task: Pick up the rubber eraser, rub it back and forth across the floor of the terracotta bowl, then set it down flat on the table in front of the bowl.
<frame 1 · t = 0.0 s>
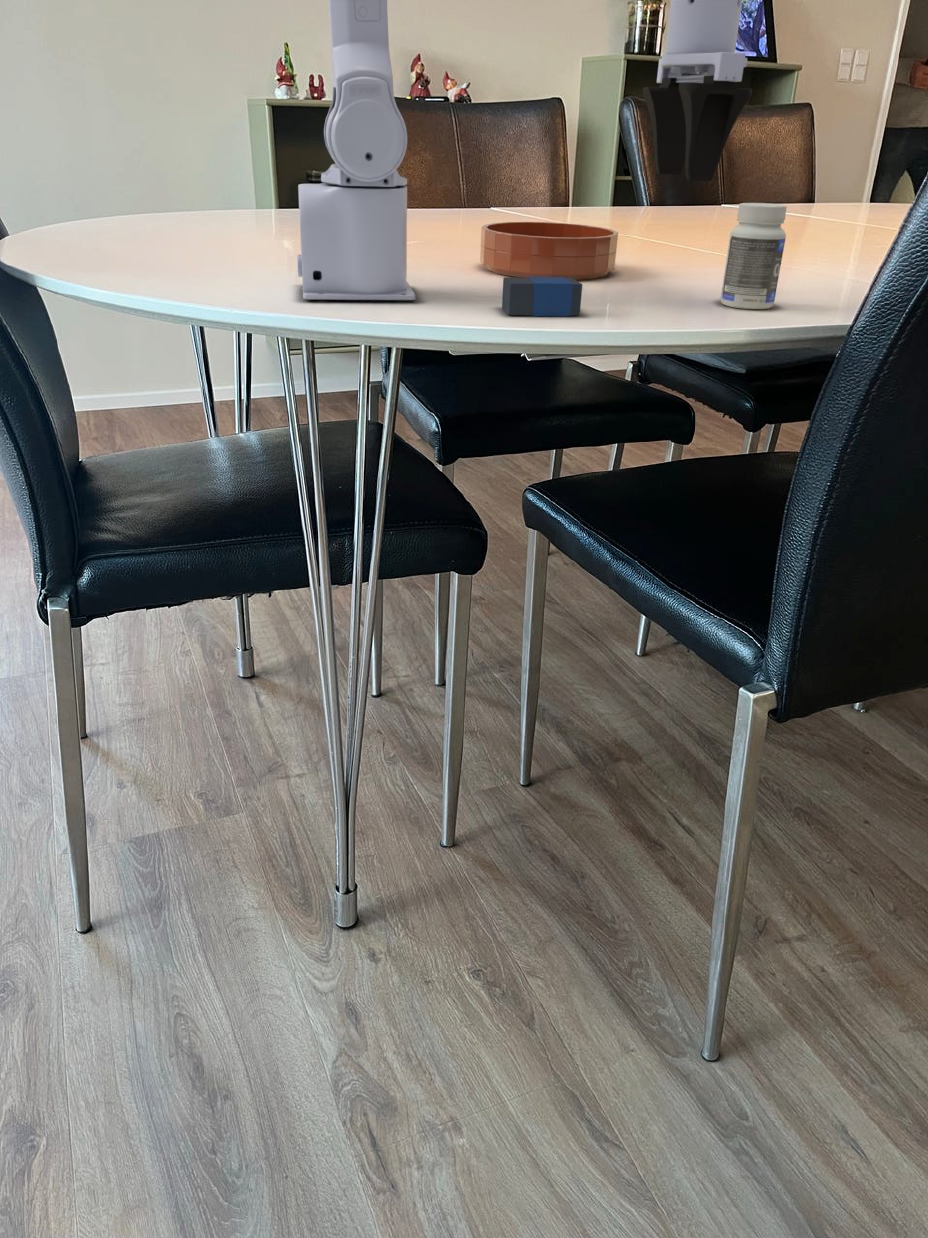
hand: (683, 177, 84), 10 cm above the table, tool pointing down, fingers open, 7 cm apart
bowl: (547, 270, 101), on the table
pill bottle: (745, 307, 87), on the table
eraser: (540, 311, 80), on the table
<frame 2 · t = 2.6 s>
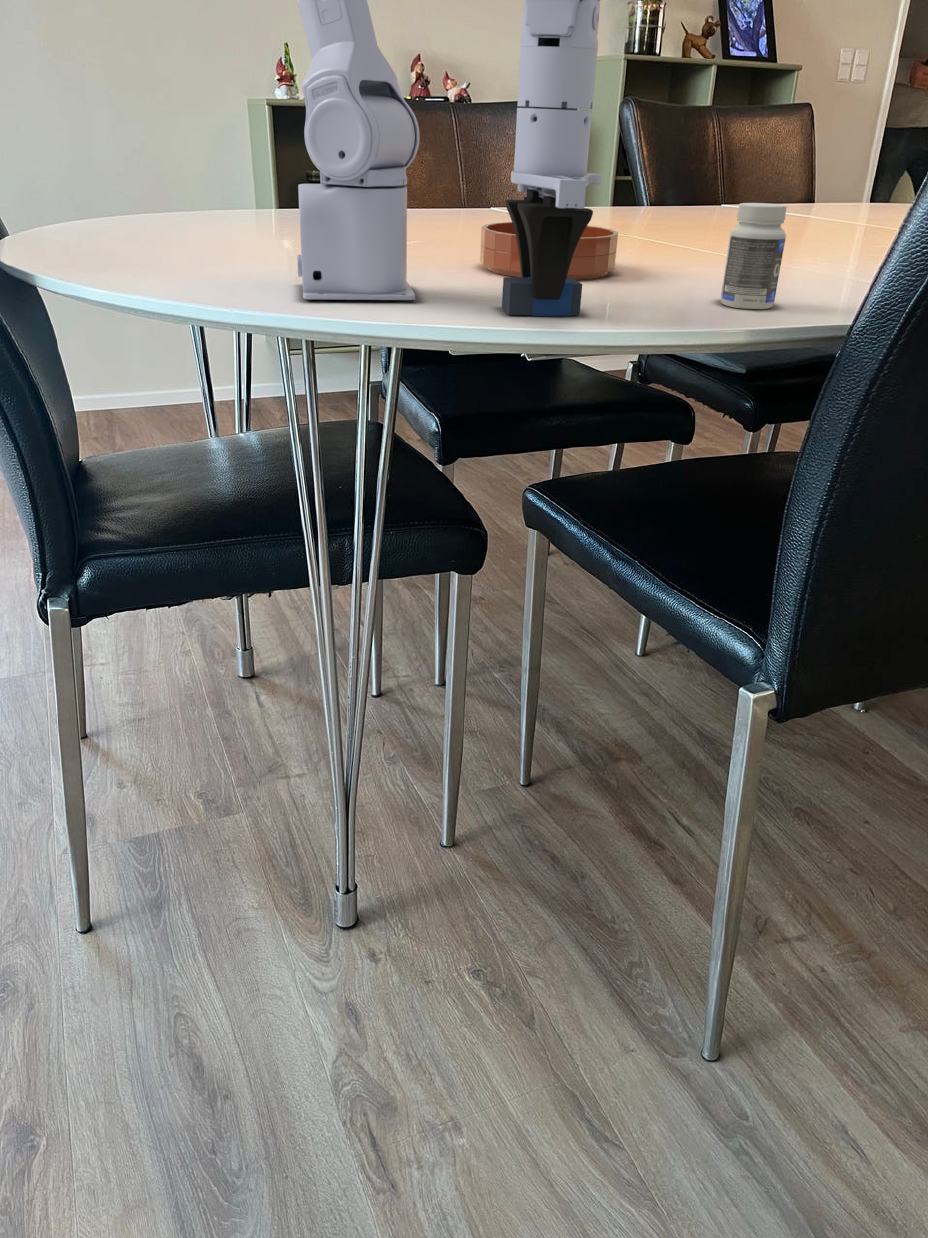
hand: (541, 294, 79), 1 cm above the table, tool pointing down, fingers closed on eraser, 3 cm apart
eraser: (540, 311, 80), on the table, touching gripper
everything else where it was.
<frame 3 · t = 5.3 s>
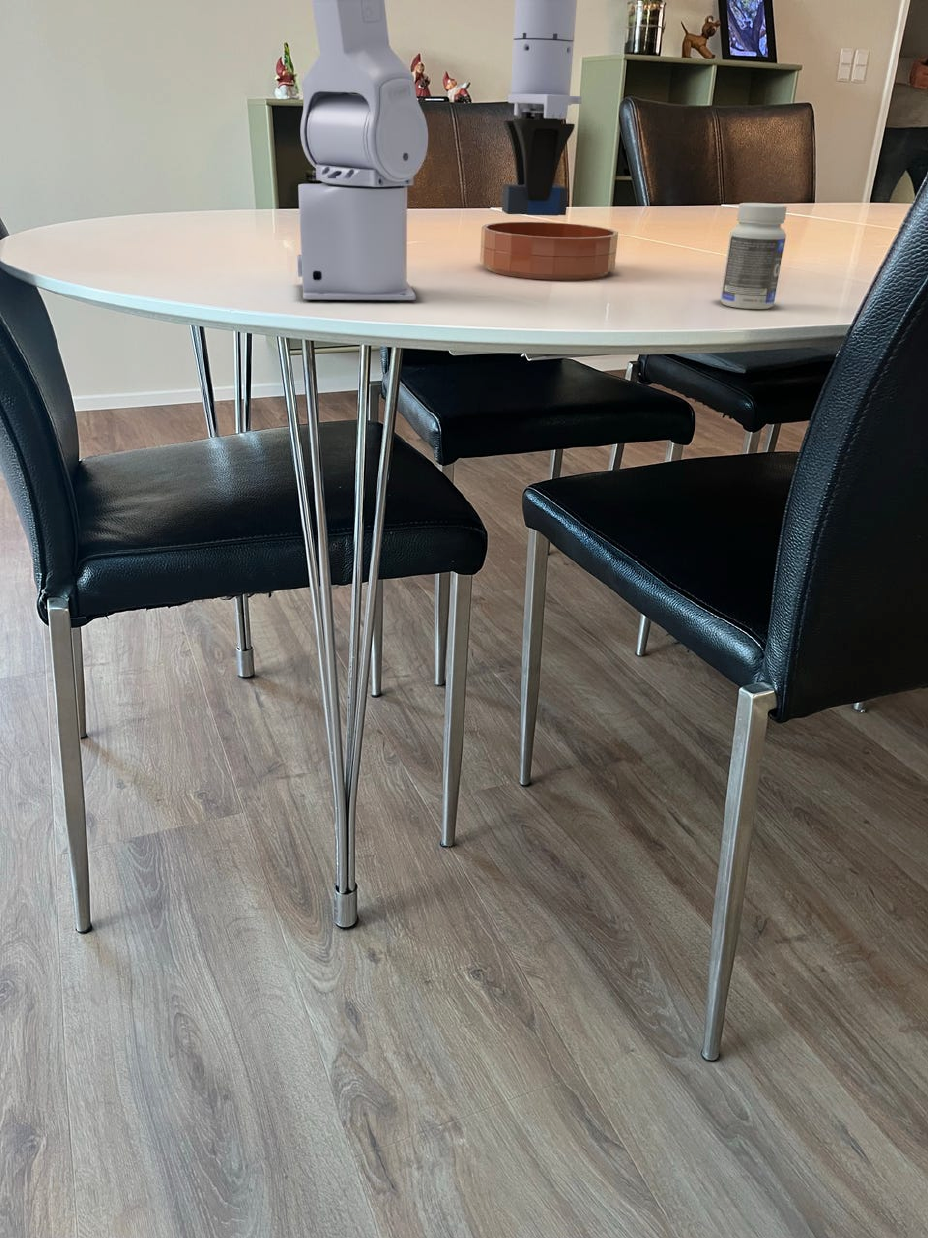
hand: (533, 198, 97), 7 cm above the table, tool pointing down, fingers closed on eraser, 3 cm apart
eraser: (533, 212, 97), point 6 cm above the table, touching gripper
everything else where it was.
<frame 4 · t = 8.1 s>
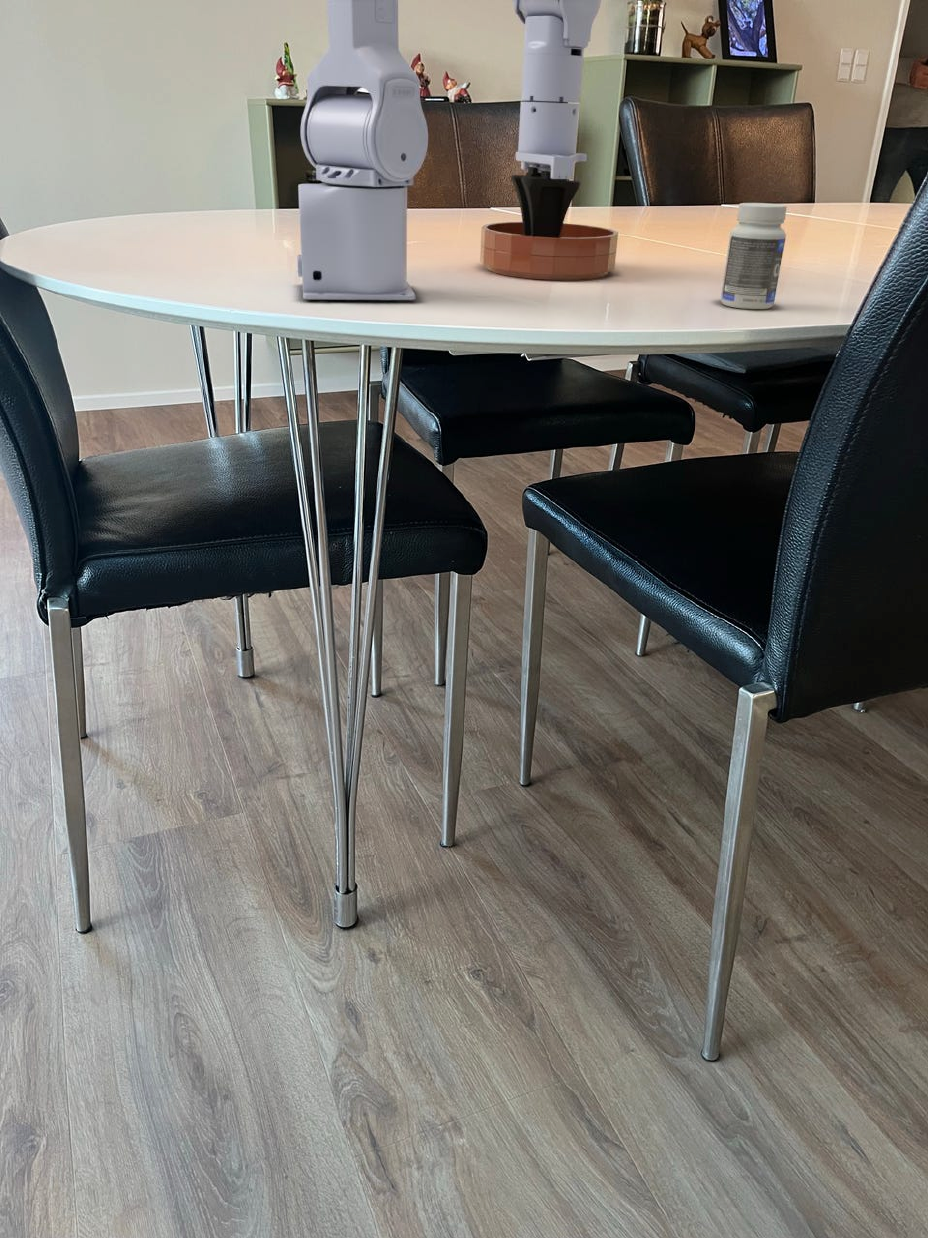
hand: (540, 250, 100), 2 cm above the table, tool pointing down, fingers closed on eraser, 3 cm apart
eraser: (539, 263, 100), point 1 cm above the table, touching gripper
everything else where it was.
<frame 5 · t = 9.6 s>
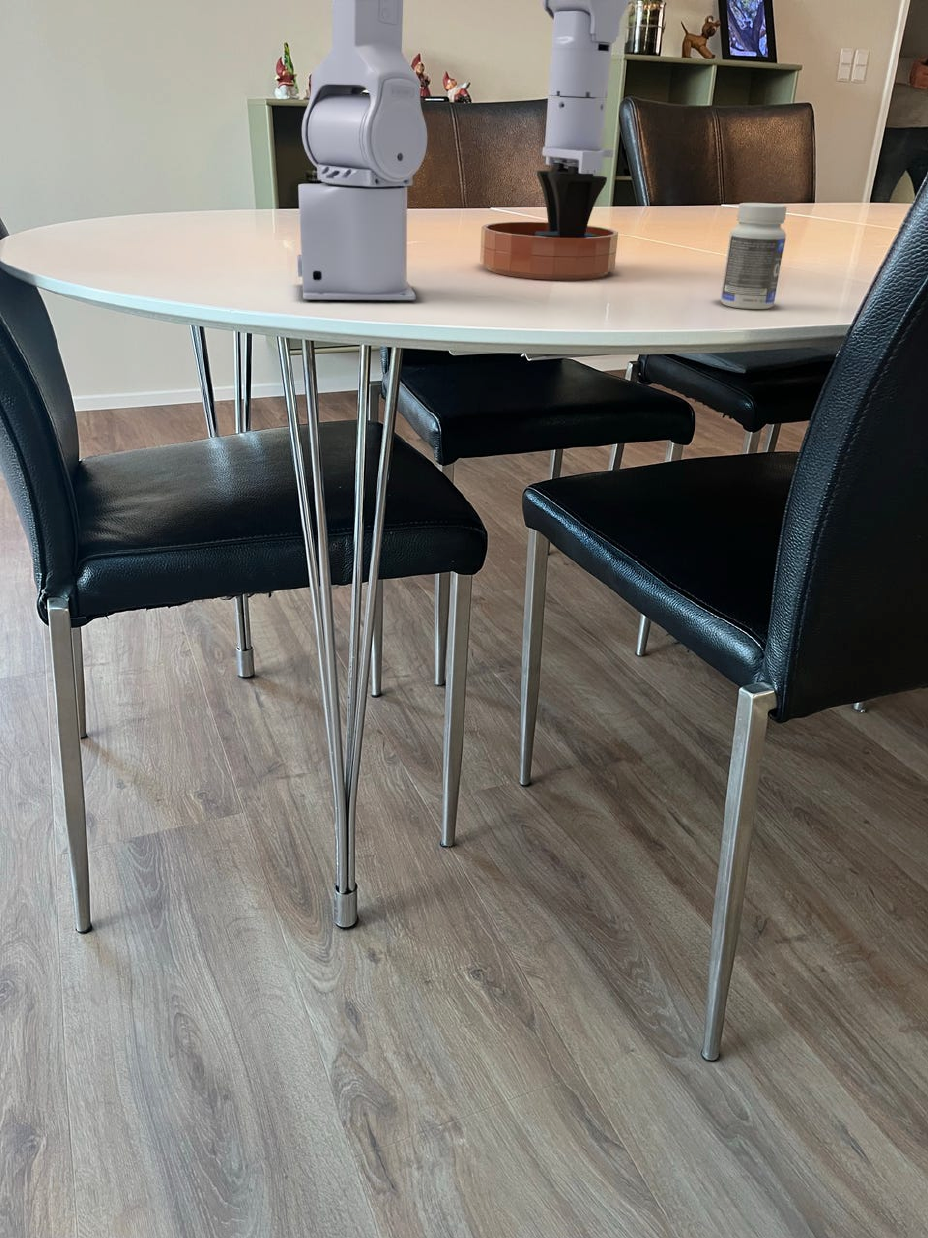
hand: (565, 246, 100), 2 cm above the table, tool pointing down, fingers closed on eraser, 3 cm apart
eraser: (564, 258, 101), point 1 cm above the table, touching gripper
everything else where it was.
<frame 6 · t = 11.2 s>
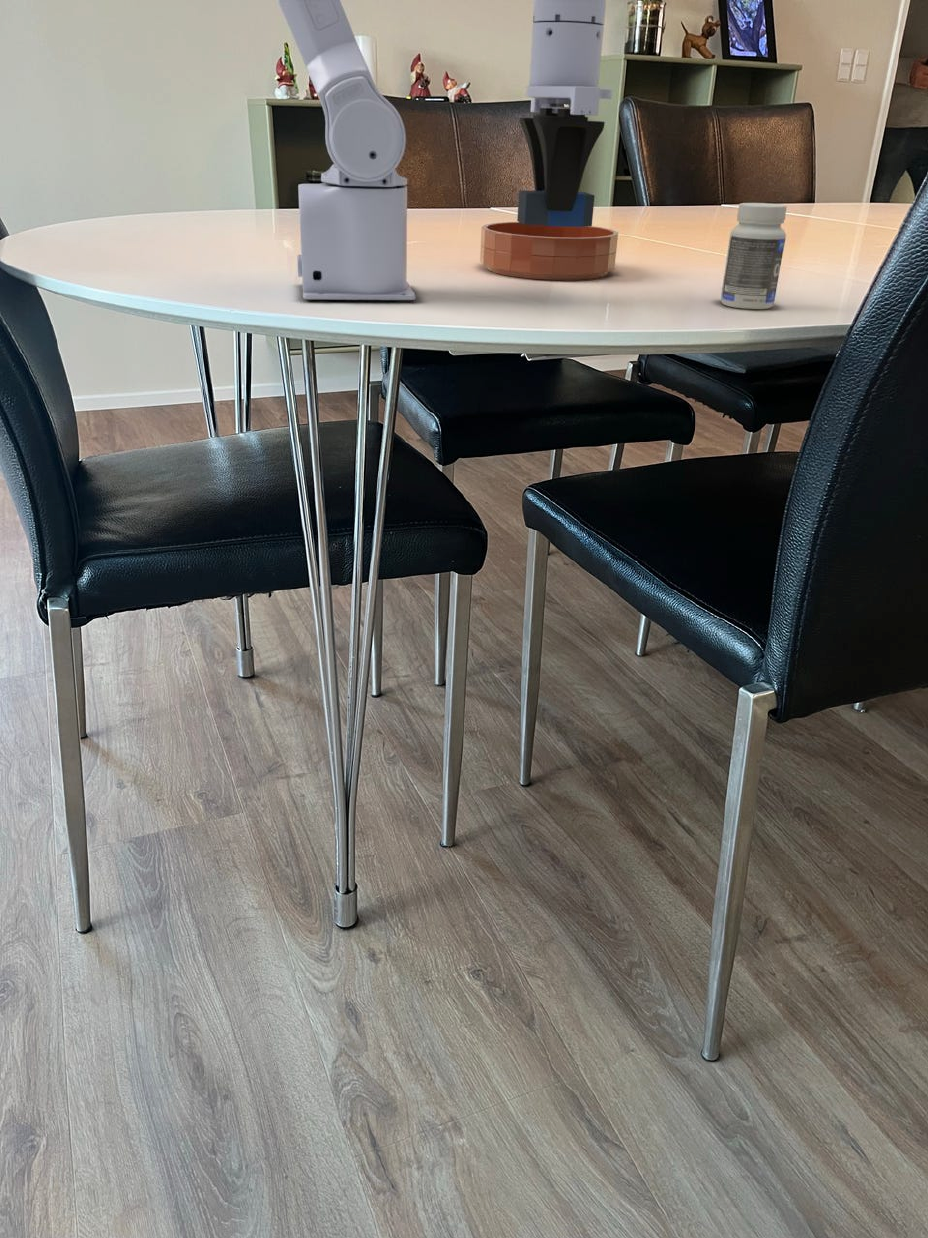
hand: (554, 208, 83), 7 cm above the table, tool pointing down, fingers closed on eraser, 3 cm apart
eraser: (554, 223, 84), point 6 cm above the table, touching gripper
everything else where it was.
when the fingers open (1 cm above the table, at t = 13.5 s): eraser stays where it is, on the table.
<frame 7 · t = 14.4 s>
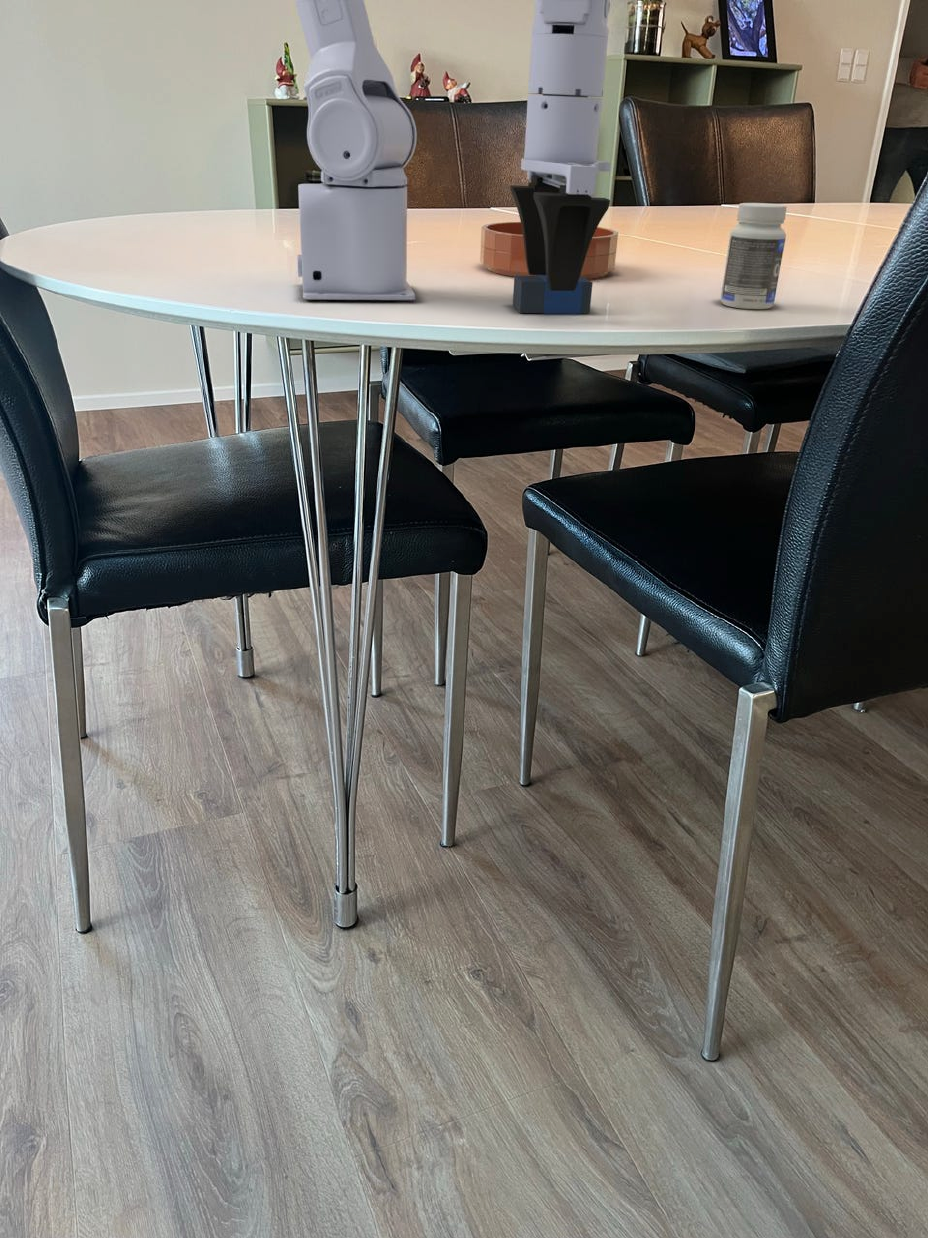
hand: (550, 281, 80), 2 cm above the table, tool pointing down, fingers open, 7 cm apart
eraser: (550, 309, 81), on the table
everything else where it was.
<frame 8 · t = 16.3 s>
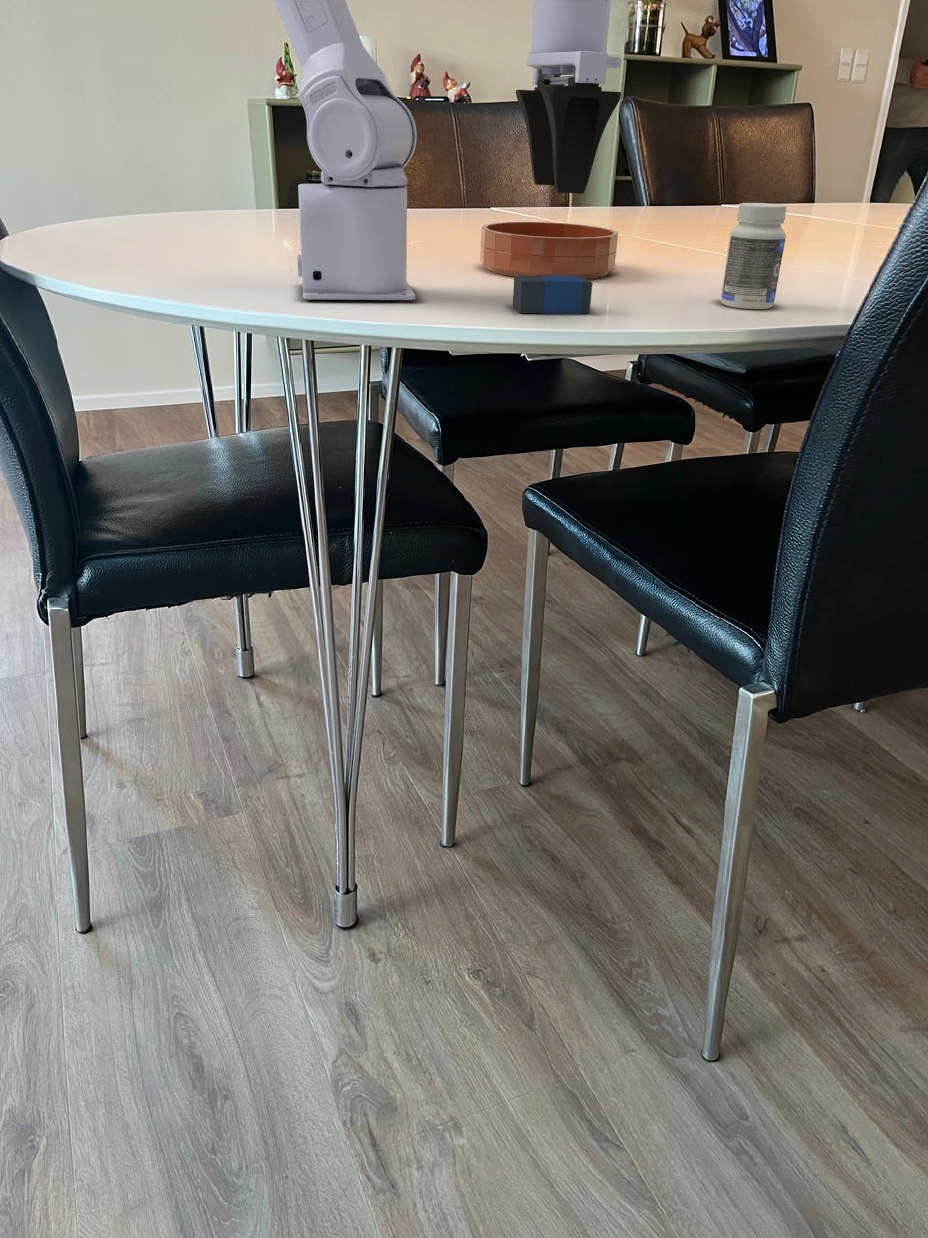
hand: (558, 188, 77), 9 cm above the table, tool pointing down, fingers open, 7 cm apart
nothing on the table moved.
at the end: eraser 0.1 cm from the target spot on the table beside the bowl, on the table; eraser tilted 0°; the gripper is holding nothing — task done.
